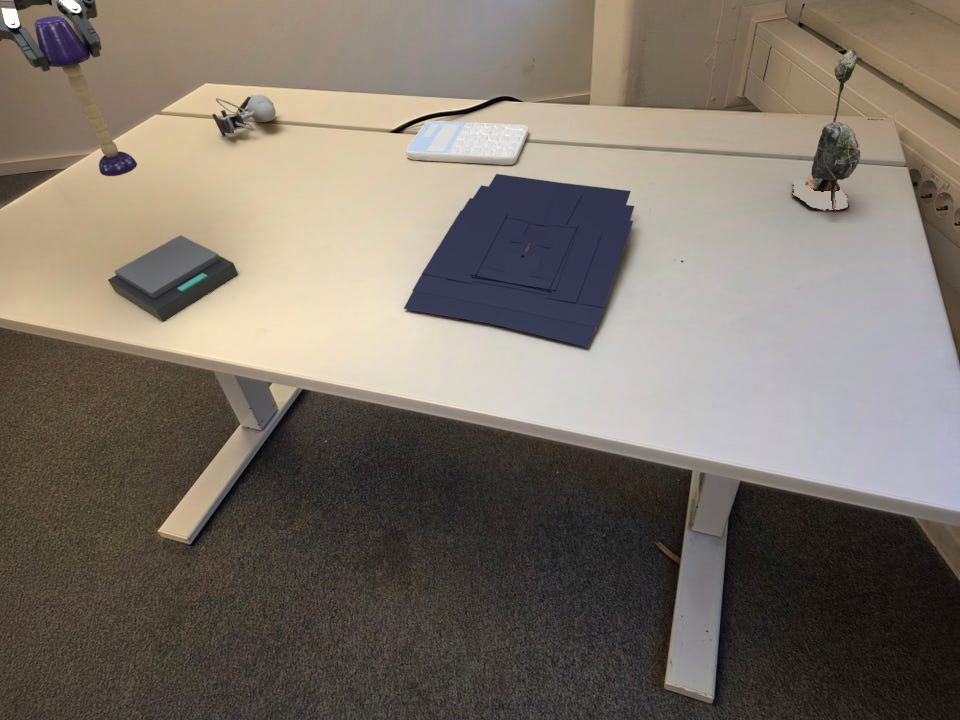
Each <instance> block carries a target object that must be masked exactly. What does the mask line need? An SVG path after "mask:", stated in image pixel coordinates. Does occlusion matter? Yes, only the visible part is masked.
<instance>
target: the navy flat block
mask: <svg viewBox="0 0 960 720" xmlns="http://www.w3.org/2000/svg"><path fill="white" fill-rule="evenodd" d="M631 192H632V191H631V190H626V189H618V188H610V187H609V188H608V187H602V186H601V187H600V186H593V185H592V186H591V185H584V184H576V183H567V182H558V181H551V180H544V179H537V178H531V177H522V176H515V175H507V174H500V173H495V175H494V177H493V178H492V180H491V182H490V183H489V185H483V184H482V185H480V186H479V187H478V189H477V191H476V192H475V194H474V195H473V197H470V198H468V200H467V201H466V203H465V205H464V206H463V208H462V209H461V210H460V211H459V212H458V214H457V216H456V217H455V219H454V220H453V222H452V223H451V225H450V227H449V229H448V230H447V232H446V234H445V235H444V237H443V238H442V240H441V241H440V243H439V245H438V247H437V248H436V250H435V251H434V252H433V254H432V256H431V258H430V259H429V261H428V262H427V264H426V266H425V268H424V269H423V271H422V273H421V275H420V276H419V278H418V280H417V282H416V284H415V285H414V287H413V288H412V292H411V294H410V296H409V298H408V300H407V301H406V303H405V305H404V307H403V309H404V310H410V311H415V312H421V313H427V314H433V315H437V316H438V315H439V316H444V317H450V318H455V319H462V320H468V321H473V322H477V323H485V324H490V325H495V326H499V327H503V328H508V329H512V330H515V331H519V332H524V333H528V334H532V335H536V336H540V337H543V338H548V339H551V340H556V341H559V342H560V341H561V342H564V343H567V344H572V345H577V346H580V347H584V348H589V347H590V345H591V342H592V340H593V337H594V335H595V332H596V330H597V329H598V328H599V325H600V322H601V319H602V317H603V313H604V311H605V309H606V304H607V301H608V298H609V295H610V293H611V289H612V286H613V283H614V280H615V278H616V274H617V271H618V269H619V266H620V264H621V260H622V258H623V255H624V251H625V248H626V246H627V243H628V239H629V237H630V233H631V229H632V226H633V222H634V221H633V220H631V219H632V215H633V212H634V210H635V205H632V204H631V205H629V204H627V203H628V200H629V198H630V196H631V195H630V194H631Z"/></svg>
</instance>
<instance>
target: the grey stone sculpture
mask: <svg viewBox="0 0 960 720" xmlns="http://www.w3.org/2000/svg"><path fill="white" fill-rule="evenodd" d="M857 57H858V53H857V52H856V51H855V49H848V50H847V51H846V52H845V53H844V54H842V57H841V58H840V59H839V60H837V63H836V65H835V68H834V69H833V70H834V71H833V72H834V76H835V78H836V80H837V81H838V83H839V89H838V90H839V91H838V94H837V102H836V108H835V112H834V117H833V121H832V122H830V123H828V124H826V125H824V126H823V129H821V135H820V136H819V140H818V142H817V143H818V144H817V146H816V152H815V155H814V157H813V162H812V165H811V173H810V174H811V176H808V177H806V178H807V179H806V181H805V185H807V186H809V187H810V188H811V189H813V190H814V191H821V192H824V191H831V201H832V209H835V208H836V200H835V192H836V191H839V190H840V187H839V186H840V184H839V183H838V181H839V180H840V181H843V180H845V179H848V178H849V177H850V176H851V175H852V174H853V173H854V172H855V170H856V169H857V167H858V165H859V162H860V159H861V157H862V155H861V146H860V143H859V141H858V140H857V137H856V133H855V131H854V129H853V128H852V127H851V126H850V125H848V124H847V123H842V122H840V121H839V122H837V117H838V112H839V107H840V101H841V95H842V93H843V90H844V87H845V84H846V83H847V82H848V81H850V79H851V77H852V75H853V72H854V70H855V68H856V64H857Z"/></svg>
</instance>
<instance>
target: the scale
mask: <svg viewBox="0 0 960 720" xmlns="http://www.w3.org/2000/svg"><path fill="white" fill-rule="evenodd" d="M113 272H114V273H115V275H114V276H112V277H111V278H108V279H107V281H108V283H109V284H110V286H111V288H112V289H113V291H114V292H115V293H117V294H118V295H120V296H122V297H123V298H125V299H126V300H128V301H129V302H131V303H133V304H134V305H136V306H138V307H139V308H141V310H144V311H145V312H147V313H148V314H150V315H152V316H153V317H155V318H156V319H159V320H160V321H161V322H165V321H166V320H168V319H170V318H172V317H173V316H174V315H176V314H178V313H179V312H180V311H182V310H184V309H185V308H187V307H189V306H191V304H193V303H195V302H197V301H198V300H200V299H201V298H203V297H205V296H207V295H208V294H209V293H211V292H213V291H215V290H216V289H217V288H219V287H220V286H223V285H224V284H226V283H227V282H229V281H230V280H232V279H234V278H235V277H237V276H238V275H239V272H238V270H237V268H236V265H235V263H234V262H233V261H231V260H228V259H227V258H225V257H223V256H221V255H219V253H217V252H215V251H213V250H211V249H209V248H208V247H205V246H203V245H201V244H199V243H197V242H196V241H193V240H191V239H189V238H187V237H185V236H183V235H181V234H180V235H177V236H176V237H174V238H172V239H170V240H169V241H167V242H165V243H163V244H161V245H159V246H158V247H156V248H154V249H152V250H150V251H149V252H147V253H145V254H143V255H141V256H139V257H138V258H135V259H134V260H132V261H129V262H128V263H126V264H124V265H123V266H121V267H119V268H117V269H116V270H114V271H113Z"/></svg>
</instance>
